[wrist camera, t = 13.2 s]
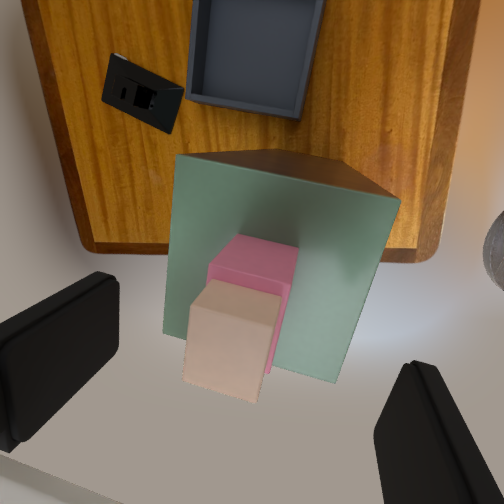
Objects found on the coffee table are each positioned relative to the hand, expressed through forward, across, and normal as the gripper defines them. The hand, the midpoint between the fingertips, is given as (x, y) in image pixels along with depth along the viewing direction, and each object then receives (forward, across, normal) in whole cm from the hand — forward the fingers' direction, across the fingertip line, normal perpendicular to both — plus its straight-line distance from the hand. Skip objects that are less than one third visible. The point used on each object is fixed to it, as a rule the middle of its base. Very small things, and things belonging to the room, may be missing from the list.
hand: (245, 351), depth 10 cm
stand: (+39, +1, 0) cm, 39 cm away
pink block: (+6, +1, 0) cm, 6 cm away
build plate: (+39, +28, -9) cm, 49 cm away
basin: (+39, +11, -17) cm, 44 cm away
